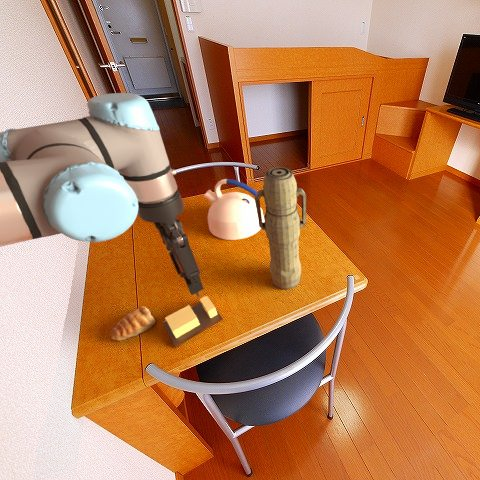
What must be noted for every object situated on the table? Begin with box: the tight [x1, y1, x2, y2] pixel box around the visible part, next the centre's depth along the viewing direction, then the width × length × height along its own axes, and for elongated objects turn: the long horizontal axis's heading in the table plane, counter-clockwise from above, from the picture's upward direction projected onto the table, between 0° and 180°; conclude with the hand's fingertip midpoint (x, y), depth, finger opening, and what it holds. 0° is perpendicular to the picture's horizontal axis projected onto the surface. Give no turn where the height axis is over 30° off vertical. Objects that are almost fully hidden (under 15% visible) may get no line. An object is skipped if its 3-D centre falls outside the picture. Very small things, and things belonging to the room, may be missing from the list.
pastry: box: [109, 306, 156, 342], centre depth 68 cm, size 9×7×4 cm
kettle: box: [203, 178, 265, 241], centre depth 97 cm, size 20×21×18 cm
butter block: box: [164, 304, 200, 338], centre depth 68 cm, size 6×5×3 cm
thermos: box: [254, 166, 307, 291], centre depth 72 cm, size 9×12×35 cm
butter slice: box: [199, 295, 218, 318], centre depth 71 cm, size 2×5×3 cm, turn 41°
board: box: [162, 302, 223, 348], centre depth 70 cm, size 12×8×1 cm, turn 131°
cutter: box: [173, 253, 201, 299], centre depth 62 cm, size 2×7×9 cm, turn 41°
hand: (190, 280), depth 63 cm, fingers closed on cutter, 7 cm apart
